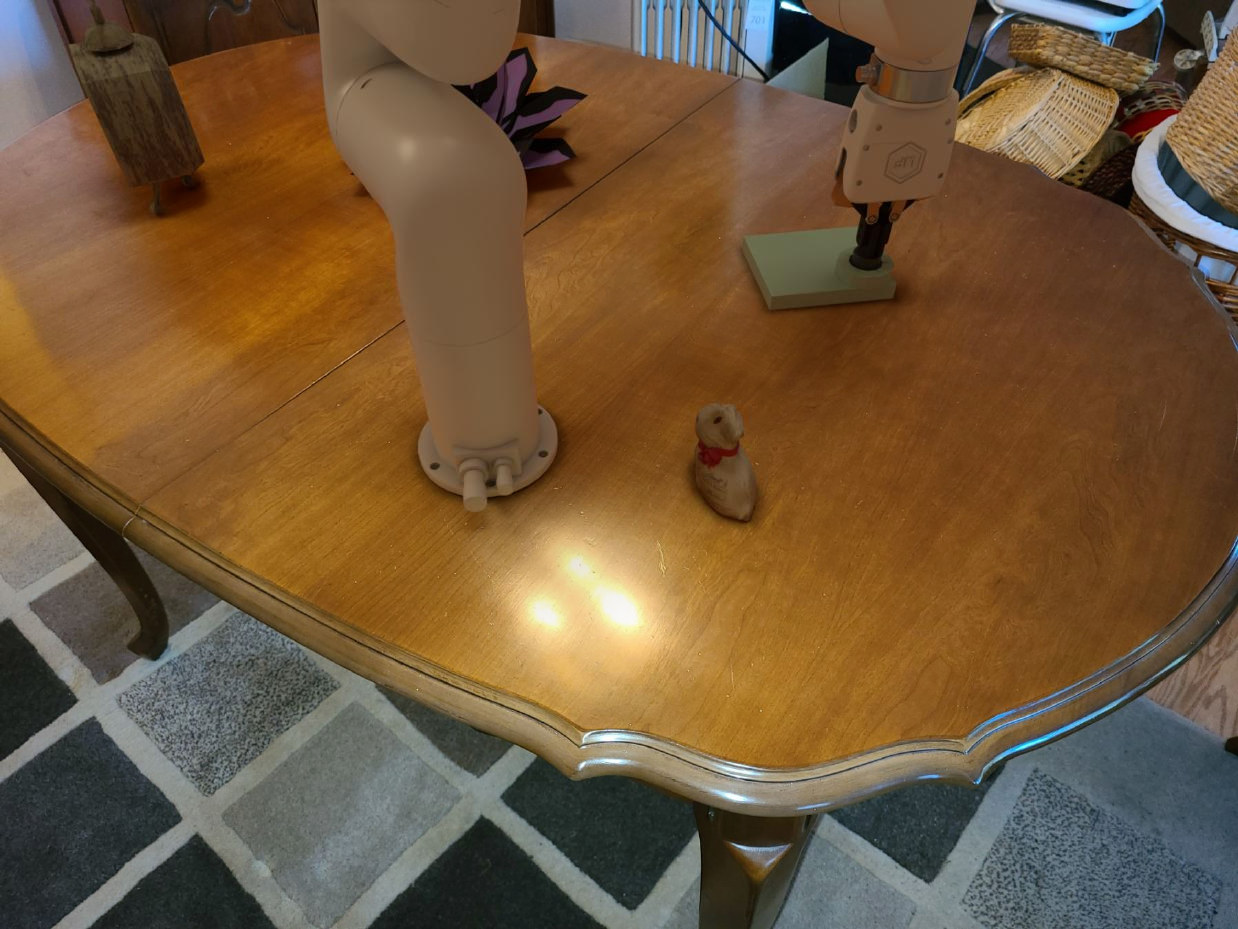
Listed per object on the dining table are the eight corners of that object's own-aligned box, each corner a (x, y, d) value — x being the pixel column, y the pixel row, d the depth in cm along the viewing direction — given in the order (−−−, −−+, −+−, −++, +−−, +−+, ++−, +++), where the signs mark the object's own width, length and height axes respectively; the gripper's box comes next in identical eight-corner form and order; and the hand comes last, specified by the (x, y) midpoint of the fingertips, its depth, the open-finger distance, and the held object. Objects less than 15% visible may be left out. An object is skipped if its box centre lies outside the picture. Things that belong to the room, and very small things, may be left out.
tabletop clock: (129, 175, 111) (33, -36, 93) (200, 158, 114) (120, -48, 96) (147, 225, 103) (44, 5, 85) (223, 206, 106) (140, -11, 88)
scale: (894, 301, 92) (902, 274, 89) (770, 313, 90) (775, 286, 88) (855, 239, 100) (861, 213, 98) (741, 249, 99) (744, 223, 96)
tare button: (883, 270, 90) (886, 258, 89) (856, 273, 90) (859, 260, 89) (873, 255, 92) (876, 242, 91) (847, 257, 92) (849, 245, 91)
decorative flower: (620, 197, 108) (616, 82, 96) (373, 256, 102) (336, 142, 90) (549, 81, 127) (538, -26, 115) (338, 125, 121) (304, 18, 109)
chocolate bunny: (752, 455, 76) (766, 371, 69) (756, 523, 71) (772, 439, 63) (691, 453, 76) (698, 368, 69) (691, 519, 71) (699, 436, 64)
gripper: (847, 99, 73) (813, 276, 87) (1007, 86, 75) (950, 262, 88) (820, 64, 78) (791, 237, 92) (971, 53, 80) (921, 225, 93)
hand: (869, 249), depth 90 cm, fingers closed
